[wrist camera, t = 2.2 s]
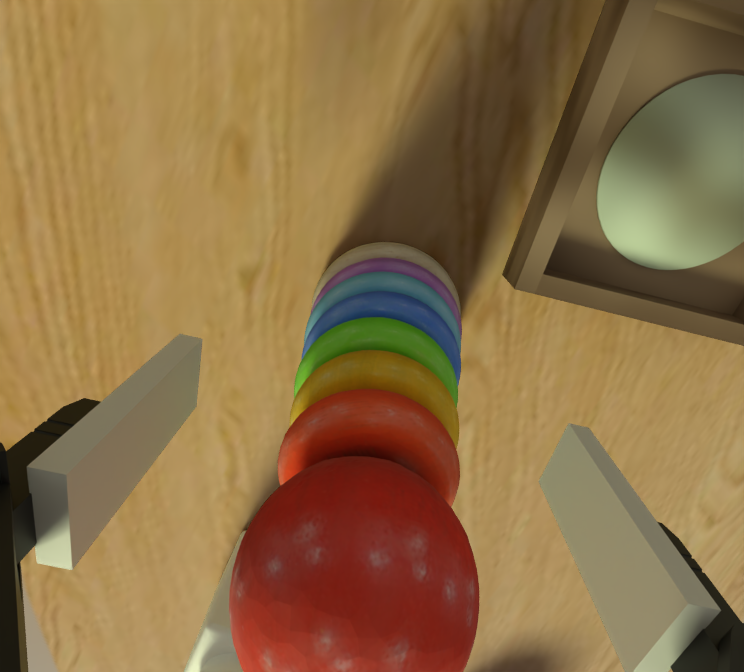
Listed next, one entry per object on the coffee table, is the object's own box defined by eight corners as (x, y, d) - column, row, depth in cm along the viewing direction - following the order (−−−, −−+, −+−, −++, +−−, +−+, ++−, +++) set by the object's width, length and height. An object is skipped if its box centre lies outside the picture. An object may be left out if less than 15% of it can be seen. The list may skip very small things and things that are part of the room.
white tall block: (301, 612, 35) (260, 827, 24) (217, 585, 34) (134, 796, 23) (334, 557, 32) (305, 771, 21) (243, 526, 31) (163, 733, 20)
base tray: (615, -26, 17) (650, -52, 15) (901, 59, 18) (974, 47, 16) (502, 274, 23) (514, 289, 20) (727, 330, 23) (763, 350, 21)
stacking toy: (416, 209, 22) (515, 456, 4) (480, 336, 24) (696, 793, 7) (287, 282, 23) (6, 654, 6) (360, 393, 26) (302, 865, 9)
